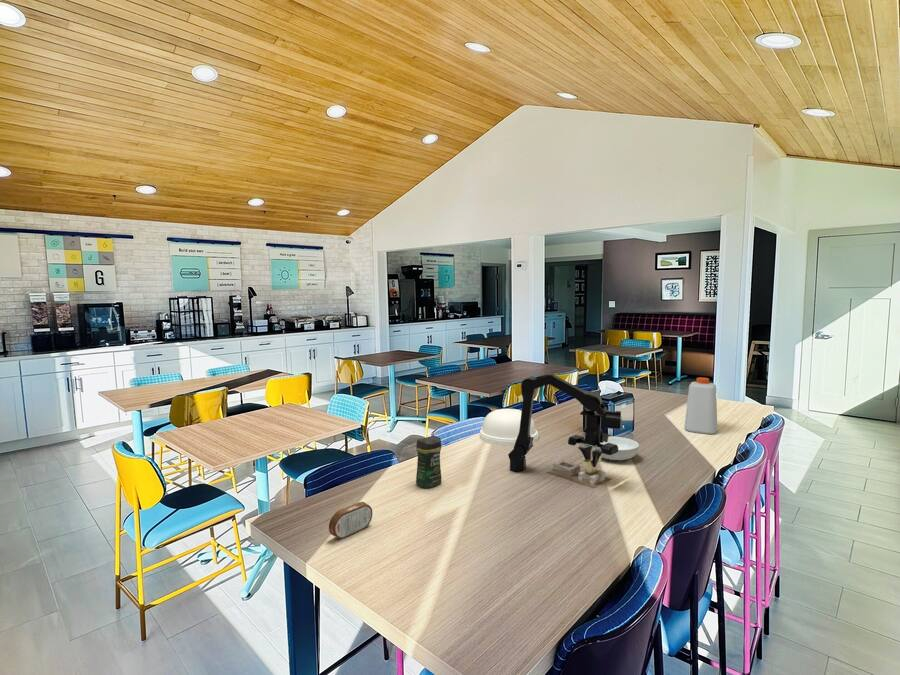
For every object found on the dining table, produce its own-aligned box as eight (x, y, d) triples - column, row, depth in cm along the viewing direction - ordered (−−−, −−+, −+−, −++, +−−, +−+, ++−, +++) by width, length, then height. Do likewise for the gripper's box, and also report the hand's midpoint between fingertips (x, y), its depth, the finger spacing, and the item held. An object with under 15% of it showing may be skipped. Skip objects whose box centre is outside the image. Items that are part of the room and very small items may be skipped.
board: (594, 490, 181) (594, 480, 180) (545, 474, 197) (545, 465, 196) (612, 481, 189) (612, 471, 189) (564, 467, 205) (564, 457, 205)
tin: (368, 522, 157) (367, 497, 156) (374, 525, 154) (373, 500, 154) (328, 540, 145) (327, 513, 145) (334, 544, 143) (333, 516, 142)
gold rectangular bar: (600, 473, 191) (601, 456, 190) (586, 480, 184) (587, 462, 184) (596, 472, 192) (596, 455, 192) (582, 478, 186) (582, 461, 185)
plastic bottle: (717, 428, 262) (720, 377, 259) (715, 435, 249) (718, 381, 246) (686, 424, 270) (688, 374, 267) (683, 431, 257) (685, 379, 254)
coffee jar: (426, 490, 182) (425, 442, 180) (412, 484, 187) (412, 437, 186) (445, 483, 188) (445, 436, 186) (431, 478, 194) (431, 432, 192)
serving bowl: (631, 450, 227) (631, 436, 226) (644, 466, 206) (645, 450, 205) (585, 449, 229) (586, 435, 228) (594, 464, 208) (594, 449, 207)
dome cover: (468, 432, 257) (468, 406, 256) (517, 426, 269) (518, 401, 267) (497, 450, 228) (498, 421, 226) (551, 442, 239) (551, 414, 238)
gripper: (626, 427, 185) (624, 467, 187) (583, 418, 199) (582, 455, 200) (611, 433, 178) (610, 474, 179) (567, 423, 191) (566, 462, 193)
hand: (591, 466), depth 188 cm, fingers closed on gold rectangular bar, 2 cm apart
